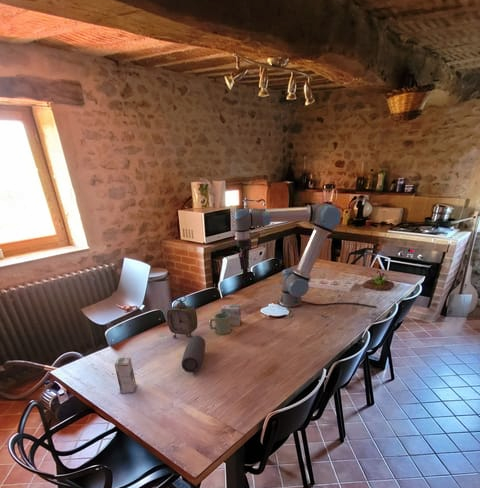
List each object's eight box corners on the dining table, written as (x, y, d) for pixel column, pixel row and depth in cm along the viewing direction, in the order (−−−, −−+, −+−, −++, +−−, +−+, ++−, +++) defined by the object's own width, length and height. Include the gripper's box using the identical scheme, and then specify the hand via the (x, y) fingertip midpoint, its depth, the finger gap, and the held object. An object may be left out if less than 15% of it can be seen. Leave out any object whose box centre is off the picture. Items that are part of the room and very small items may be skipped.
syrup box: (123, 386, 160) (116, 357, 153) (136, 385, 160) (130, 356, 153) (120, 393, 155) (113, 364, 148) (134, 392, 155) (127, 363, 148)
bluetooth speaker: (189, 352, 185) (187, 334, 180) (207, 351, 185) (205, 334, 180) (181, 375, 166) (178, 356, 161) (201, 375, 165) (199, 355, 160)
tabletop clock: (170, 338, 201) (163, 295, 189) (178, 332, 208) (172, 290, 196) (193, 341, 196) (188, 297, 184) (200, 334, 204) (195, 292, 192)
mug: (229, 327, 211) (228, 312, 206) (231, 333, 204) (230, 317, 199) (209, 329, 209) (208, 314, 205) (211, 335, 202) (209, 319, 197)
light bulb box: (241, 321, 218) (240, 304, 212) (239, 326, 212) (238, 308, 207) (224, 321, 219) (222, 304, 214) (222, 325, 213) (220, 308, 208)
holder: (291, 284, 276) (291, 281, 275) (300, 278, 289) (300, 274, 288) (349, 291, 255) (350, 288, 254) (356, 284, 268) (357, 281, 267)
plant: (369, 280, 275) (371, 266, 270) (396, 284, 265) (398, 269, 259) (360, 288, 261) (362, 272, 256) (388, 292, 251) (390, 276, 245)
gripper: (240, 236, 210) (243, 276, 222) (233, 241, 199) (236, 282, 211) (252, 236, 208) (255, 276, 219) (245, 241, 197) (248, 283, 209)
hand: (245, 279), depth 215 cm, fingers closed
